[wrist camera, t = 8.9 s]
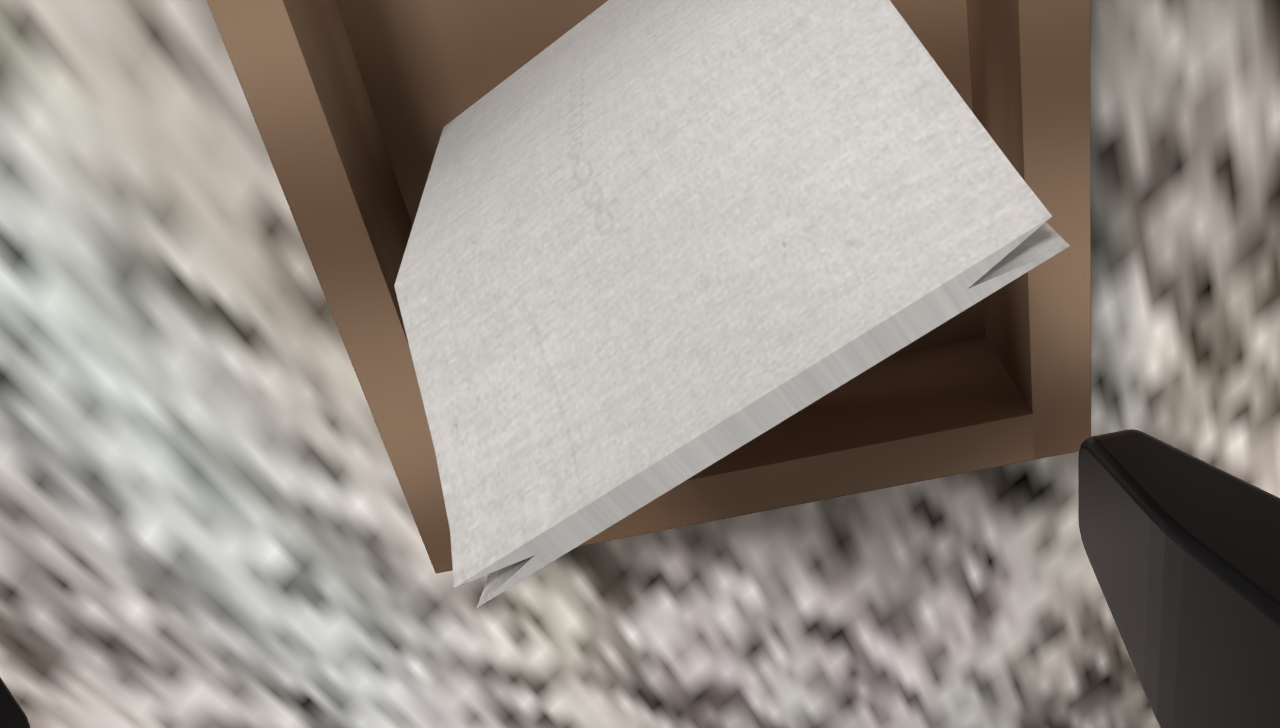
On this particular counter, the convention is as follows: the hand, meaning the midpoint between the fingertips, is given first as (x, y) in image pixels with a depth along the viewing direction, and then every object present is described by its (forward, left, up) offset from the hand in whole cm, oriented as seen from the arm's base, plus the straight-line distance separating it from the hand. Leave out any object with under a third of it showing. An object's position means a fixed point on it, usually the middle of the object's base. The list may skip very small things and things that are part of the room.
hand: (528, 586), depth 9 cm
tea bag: (0, -2, -12) cm, 12 cm away
